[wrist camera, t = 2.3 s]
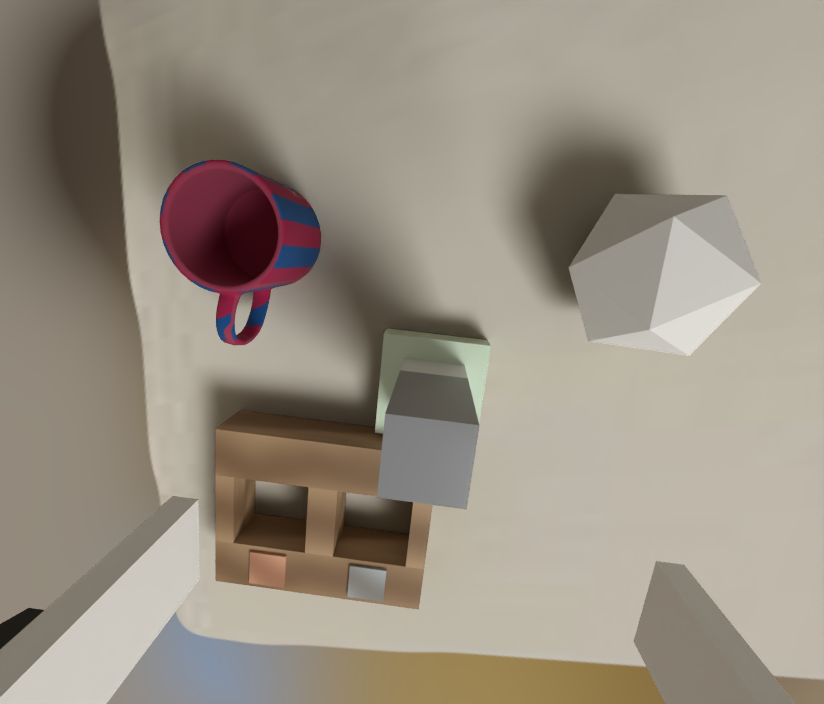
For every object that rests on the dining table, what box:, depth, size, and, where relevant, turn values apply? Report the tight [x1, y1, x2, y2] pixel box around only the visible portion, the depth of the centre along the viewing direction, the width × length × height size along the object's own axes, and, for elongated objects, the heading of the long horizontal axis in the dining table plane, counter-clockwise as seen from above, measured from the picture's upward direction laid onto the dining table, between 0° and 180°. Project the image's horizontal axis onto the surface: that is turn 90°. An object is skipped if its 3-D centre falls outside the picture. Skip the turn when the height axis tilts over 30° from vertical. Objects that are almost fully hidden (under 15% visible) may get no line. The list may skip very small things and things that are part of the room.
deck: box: [375, 329, 491, 434], centre depth 29 cm, size 7×7×2 cm
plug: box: [377, 358, 479, 509], centre depth 23 cm, size 4×4×10 cm
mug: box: [160, 160, 321, 345], centre depth 25 cm, size 7×10×7 cm
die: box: [569, 194, 761, 356], centre depth 23 cm, size 8×9×10 cm
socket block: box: [215, 411, 432, 609], centre depth 30 cm, size 12×15×4 cm
